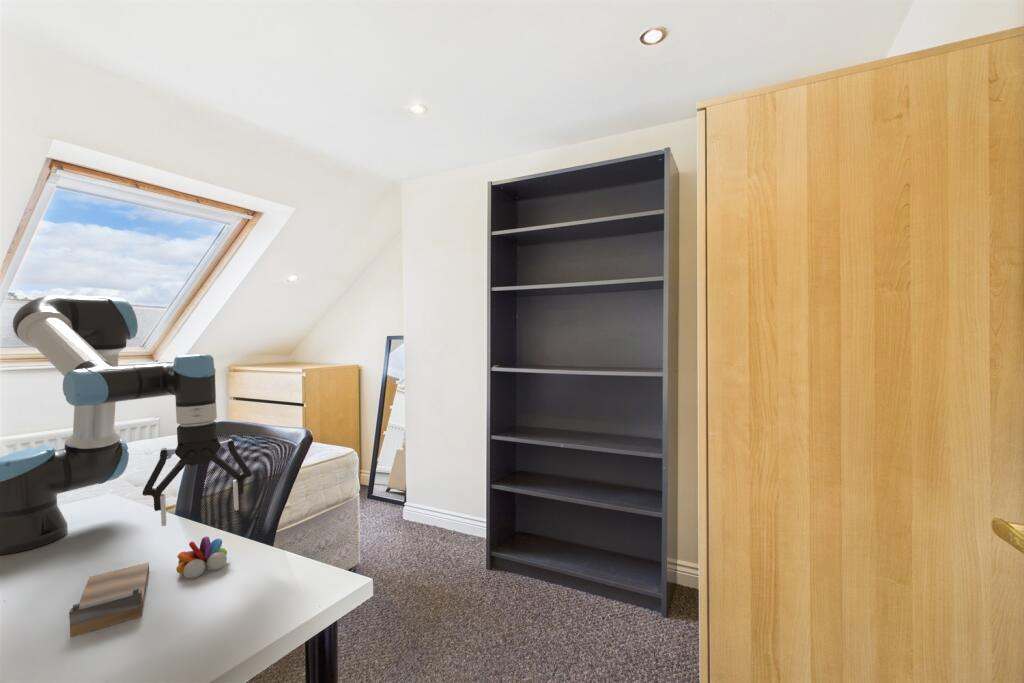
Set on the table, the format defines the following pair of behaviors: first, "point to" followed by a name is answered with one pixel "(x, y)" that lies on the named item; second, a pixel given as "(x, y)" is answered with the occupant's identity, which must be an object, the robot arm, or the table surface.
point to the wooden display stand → (110, 599)
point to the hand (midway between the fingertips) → (201, 516)
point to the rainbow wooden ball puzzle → (202, 558)
